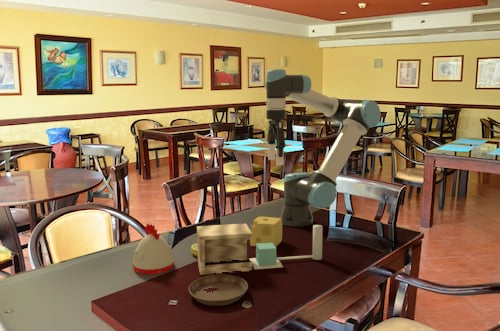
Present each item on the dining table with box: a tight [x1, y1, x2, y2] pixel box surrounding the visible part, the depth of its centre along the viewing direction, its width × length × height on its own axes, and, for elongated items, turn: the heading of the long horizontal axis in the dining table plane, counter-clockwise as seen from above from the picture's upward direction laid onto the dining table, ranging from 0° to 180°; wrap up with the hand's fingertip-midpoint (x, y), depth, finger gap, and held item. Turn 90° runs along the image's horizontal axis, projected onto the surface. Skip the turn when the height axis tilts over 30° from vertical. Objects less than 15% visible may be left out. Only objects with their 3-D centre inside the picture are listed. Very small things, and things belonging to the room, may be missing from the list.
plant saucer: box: [188, 273, 249, 307], centre depth 136 cm, size 18×18×3 cm
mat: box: [248, 256, 284, 270], centre depth 161 cm, size 10×10×1 cm
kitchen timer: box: [132, 223, 175, 275], centre depth 158 cm, size 14×14×15 cm
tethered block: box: [255, 224, 324, 266], centre depth 162 cm, size 24×6×12 cm, turn 101°
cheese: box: [249, 215, 283, 248], centre depth 181 cm, size 10×11×10 cm
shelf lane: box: [196, 223, 253, 276], centre depth 157 cm, size 18×12×13 cm, turn 101°
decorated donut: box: [190, 242, 198, 258], centre depth 171 cm, size 10×11×4 cm
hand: (275, 162), depth 183 cm, fingers open, 13 cm apart
